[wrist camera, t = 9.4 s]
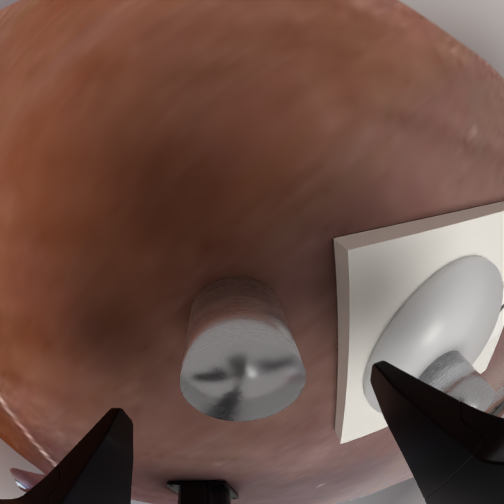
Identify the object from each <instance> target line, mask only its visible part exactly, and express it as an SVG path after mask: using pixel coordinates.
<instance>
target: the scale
mask: <svg viewBox="0 0 504 504" xmlns="http://www.w3.org/2000/svg"><path fill="white" fill-rule="evenodd" d="M333 240H334V252H335V266H336V283H337V308H338V380H337V403H336V419H335V431H336V434H337V437H338V439H339V442H340V444H342V443H345V442H348V441H351V440H354V439H357V438H360V437H362V436H365V435H368V434H370V433H373V432H375V431H378V430H380V429H383V428H385V427H387V426H388V425H387V423H386V421H385V419H384V417H383V414H382V412H381V409H380V406H379V404H378V401H377V398H376V396H375V393H374V391H373V388H372V385H371V382H370V377H371V370H372V365H373V364H374V363H376V362H379V361H382V360H384V361H386V362H388V363H390V364H392V365H394V366H395V367H397V368H399V369H401V370H403V371H405V372H406V373H408V374H410V375H412V376H414V377H416V378H419V376H420V375H421V374H422V373H423V372H424V370H425V369H426V368H427V367H428V366H429V365H430V364H431V363H432V362H434V361H435V360H436V359H437V358H439V357H440V356H442V355H443V354H445V353H447V352H449V351H452V350H457V351H459V352H460V353H461V354H462V355H463V356H464V358H465V359H466V360H467V361H468V362H469V363H470V364H471V365H472V366H473V367H474V368H475V369H476V370H477V371H478V373H479V374H481V373H482V372H483V371H485V370H486V368H487V365H488V363H489V361H490V359H491V357H492V354H493V352H494V350H495V347H496V345H497V342H498V340H499V337H500V334H501V332H502V329H503V326H504V201H502V202H498V203H493V204H488V205H484V206H479V207H475V208H470V209H466V210H461V211H457V212H452V213H448V214H443V215H438V216H434V217H429V218H425V219H420V220H416V221H411V222H406V223H402V224H397V225H392V226H388V227H383V228H379V229H374V230H369V231H365V232H360V233H355V234H351V235H346V236H341V237H337V238H333Z"/></svg>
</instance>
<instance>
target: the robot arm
mask: <svg viewBox="0 0 504 504" xmlns="http://www.w3.org/2000/svg"><path fill="white" fill-rule="evenodd" d="M370 382H371V385H372V388H373V391H374V393H375V396H376V398H377V401H378V404H379V406H380V409H381V412H382V414H383V417H384V419H385V421H386V423H387V425H388V427H389V429H390V430H391V432H392V434H393V436H394V438H395V440H396V442H397V444H398V446H399V448H400V450H401V452H402V454H403V456H404V458H405V460H406V462H407V464H408V466H409V468H410V470H411V472H412V474H413V476H414V478H415V480H416V482H417V484H418V486H419V488H420V490H421V492H422V494H423V497H424V498H425V501H426V503H427V504H504V418H501V417H498V416H495V415H492V414H489V413H486V412H484V411H481V410H479V409H476V408H474V407H472V406H470V405H468V404H466V403H464V402H462V401H459V400H458V399H456V398H454V397H452V396H450V395H448V394H446V393H444V392H442V391H440V390H438V389H436V388H435V387H433V386H431V385H429V384H427V383H425V382H423V381H421V380H419V379H418V378H416V377H414V376H412V375H410V374H408V373H406V372H405V371H403V370H401V369H399V368H397V367H395V366H394V365H392V364H390V363H388V362H386V361H384V360H382V361H379V362H376V363H374V364H373V365H372V370H371V377H370ZM132 470H133V423H132V420H131V419H130V418H129V417H128V415H127V414H126V413H125V412H124V410H123V409H121V408H111V409H110V410H109V411H108V412H107V413H106V414H105V415H104V416H103V417H102V418H101V420H100V421H99V422H98V423H97V424H96V425H95V426H94V427H93V428H92V429H91V430H90V431H89V432H88V433H87V434H86V435H85V436H84V438H83V439H82V440H81V441H80V442H79V443H78V444H77V445H76V446H75V447H74V448H73V449H72V450H71V451H70V452H69V453H68V454H67V455H66V456H65V457H64V459H63V460H62V461H61V462H60V463H59V464H58V465H57V466H56V467H55V468H54V469H53V470H52V471H51V472H50V473H49V474H48V475H47V476H46V477H45V478H44V479H42V480H41V481H40V482H39V483H38V484H37V485H35V486H34V487H33V488H32V489H30V490H29V491H28V492H27V493H26V494H24V495H23V496H21V497H19V498H16V499H0V504H131V503H130V502H131V484H132ZM167 486H168V487H169V488H170V489H172V490H173V491H174V492H176V493H177V494H178V504H231V499H238V498H239V496H238V494H237V493H236V492H235V491H234V490H233V489H232V488H231V487H230V486H229V485H228V484H227V482H225V481H212V482H167Z"/></svg>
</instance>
